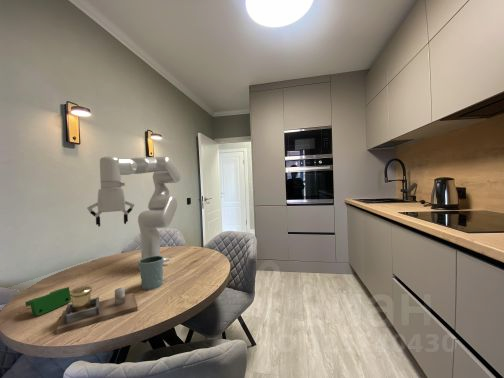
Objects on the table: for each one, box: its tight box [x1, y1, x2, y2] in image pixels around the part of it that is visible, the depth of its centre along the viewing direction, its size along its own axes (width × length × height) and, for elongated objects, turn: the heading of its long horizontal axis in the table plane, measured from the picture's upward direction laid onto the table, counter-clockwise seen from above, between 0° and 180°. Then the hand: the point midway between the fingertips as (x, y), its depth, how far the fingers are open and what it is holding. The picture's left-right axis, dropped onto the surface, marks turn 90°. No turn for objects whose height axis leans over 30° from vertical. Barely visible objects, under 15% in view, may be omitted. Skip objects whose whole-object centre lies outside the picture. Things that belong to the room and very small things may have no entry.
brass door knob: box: [70, 285, 93, 313], centre depth 77 cm, size 6×6×8 cm
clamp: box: [25, 286, 72, 317], centre depth 84 cm, size 12×6×9 cm, turn 153°
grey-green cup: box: [138, 255, 164, 291], centre depth 101 cm, size 10×10×12 cm
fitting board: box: [56, 287, 139, 335], centre depth 80 cm, size 22×13×6 cm, turn 123°
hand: (112, 224), depth 98 cm, fingers open, 9 cm apart
